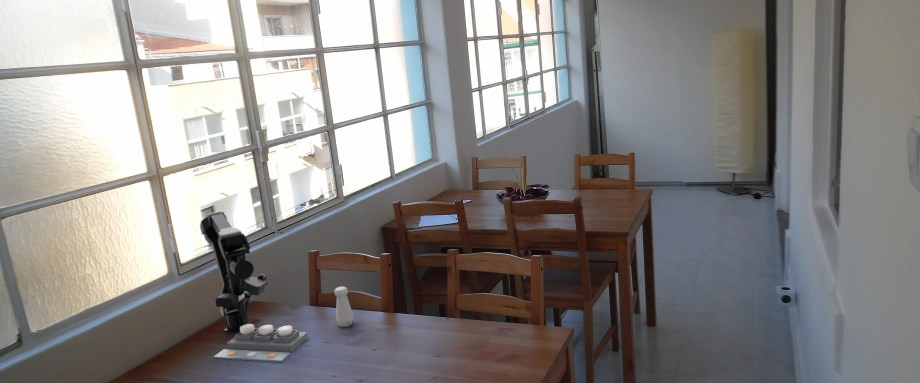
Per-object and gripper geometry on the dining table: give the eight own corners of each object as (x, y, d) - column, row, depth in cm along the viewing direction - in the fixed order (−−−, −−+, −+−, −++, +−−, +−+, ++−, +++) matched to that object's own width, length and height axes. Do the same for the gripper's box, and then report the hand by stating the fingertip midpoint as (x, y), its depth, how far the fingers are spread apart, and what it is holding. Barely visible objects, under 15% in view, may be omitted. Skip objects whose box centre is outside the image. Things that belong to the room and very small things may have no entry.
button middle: (256, 335, 218) (255, 330, 218) (264, 329, 222) (263, 324, 222) (268, 336, 217) (267, 330, 217) (276, 330, 221) (275, 324, 221)
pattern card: (214, 358, 213) (213, 355, 213) (224, 350, 218) (223, 348, 218) (281, 362, 206) (281, 359, 206) (290, 354, 211) (290, 352, 211)
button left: (237, 334, 220) (236, 329, 220) (245, 328, 225) (244, 323, 224) (249, 335, 219) (248, 329, 219) (257, 329, 223) (256, 324, 223)
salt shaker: (350, 328, 226) (345, 291, 223) (334, 328, 227) (329, 291, 224) (356, 321, 231) (351, 284, 229) (340, 321, 233) (335, 284, 230)
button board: (228, 348, 219) (226, 338, 219) (246, 335, 229) (244, 325, 228) (291, 352, 212) (289, 341, 211) (307, 338, 222) (306, 327, 221)
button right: (275, 336, 216) (275, 331, 216) (283, 330, 220) (282, 325, 220) (288, 336, 215) (287, 331, 214) (295, 331, 219) (294, 325, 218)
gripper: (241, 281, 206) (249, 330, 210) (275, 261, 224) (282, 306, 227) (210, 281, 210) (218, 328, 213) (246, 260, 227) (253, 305, 230)
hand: (245, 317), depth 221 cm, fingers closed
